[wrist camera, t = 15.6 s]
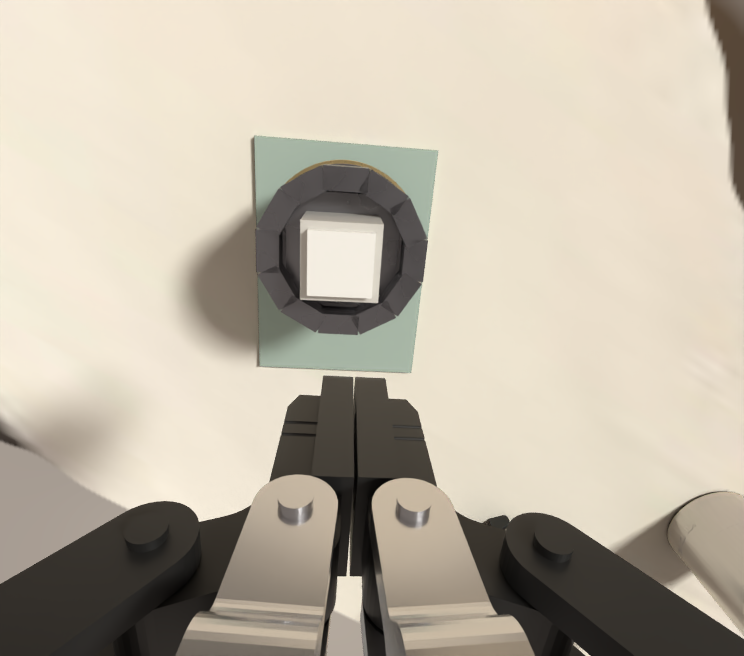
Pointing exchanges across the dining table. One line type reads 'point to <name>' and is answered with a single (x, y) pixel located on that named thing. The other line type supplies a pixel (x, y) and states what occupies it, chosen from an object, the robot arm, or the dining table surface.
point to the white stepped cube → (340, 256)
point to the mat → (312, 349)
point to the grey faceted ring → (341, 195)
